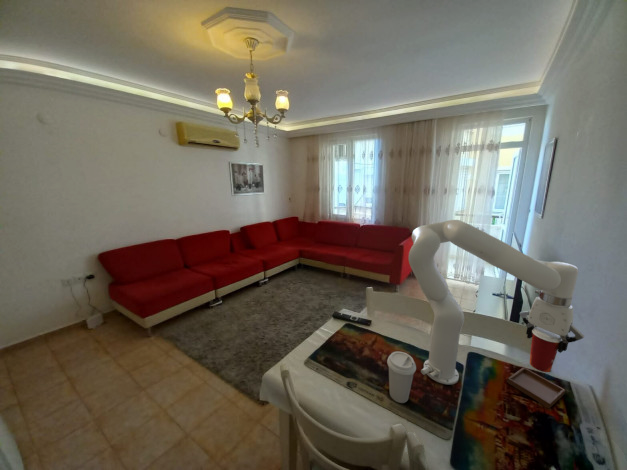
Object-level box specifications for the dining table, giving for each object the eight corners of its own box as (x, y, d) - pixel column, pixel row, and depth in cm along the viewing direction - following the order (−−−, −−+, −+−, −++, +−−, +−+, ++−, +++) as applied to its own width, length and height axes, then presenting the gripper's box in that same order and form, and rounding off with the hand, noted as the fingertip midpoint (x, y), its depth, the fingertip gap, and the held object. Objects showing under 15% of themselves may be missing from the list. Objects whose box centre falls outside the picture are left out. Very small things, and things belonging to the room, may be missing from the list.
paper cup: (560, 376, 81) (569, 340, 78) (534, 372, 83) (542, 337, 80) (544, 360, 89) (551, 326, 86) (520, 357, 90) (527, 324, 87)
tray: (548, 408, 80) (550, 403, 79) (506, 382, 91) (507, 378, 90) (564, 394, 85) (565, 389, 85) (522, 371, 96) (523, 366, 95)
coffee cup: (399, 411, 79) (402, 373, 76) (379, 390, 88) (381, 355, 84) (419, 399, 84) (422, 363, 80) (398, 380, 92) (400, 346, 89)
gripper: (518, 290, 86) (510, 333, 90) (588, 313, 71) (575, 363, 75) (528, 286, 89) (520, 328, 93) (597, 307, 74) (584, 355, 78)
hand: (544, 343), depth 84 cm, fingers closed on paper cup, 7 cm apart
